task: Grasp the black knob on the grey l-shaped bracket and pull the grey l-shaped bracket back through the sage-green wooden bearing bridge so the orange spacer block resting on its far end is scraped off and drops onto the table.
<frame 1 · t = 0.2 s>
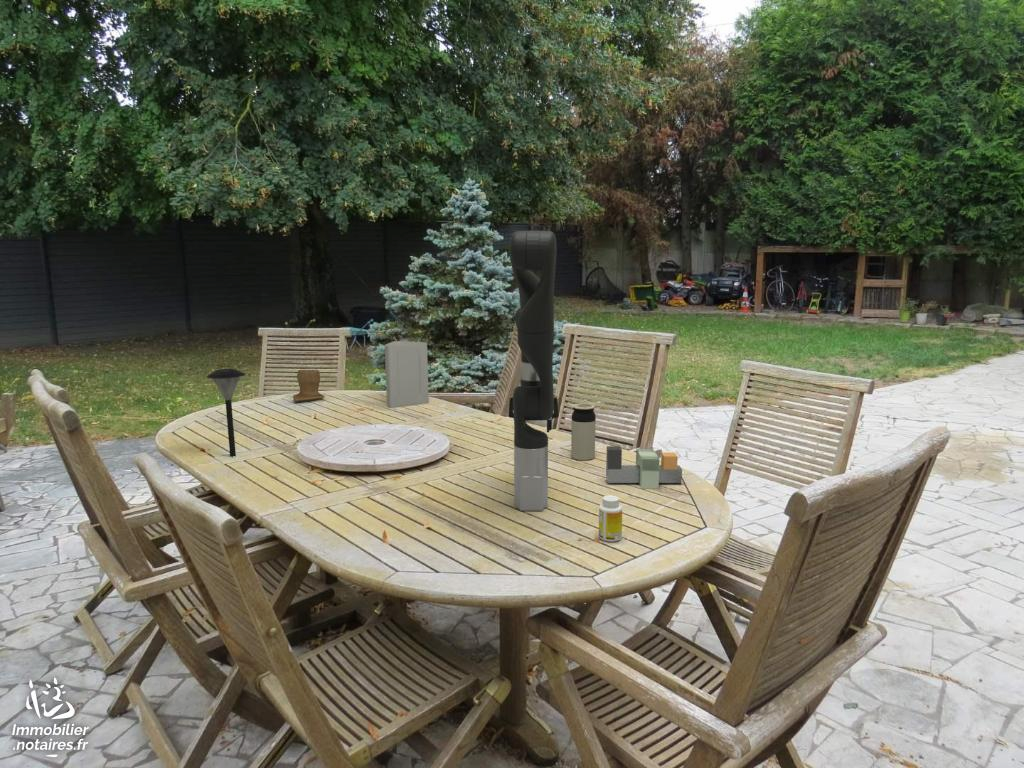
hand: (533, 431, 199), 17 cm above the table, tool pointing down, fingers open, 8 cm apart
travel mug: (582, 458, 233), on the table
grey l-shaped bracket: (643, 464, 206), point 6 cm above the table, slide at 0.0 cm, touching spacer
solar garden light: (233, 456, 236), on the table
bearing bridge: (646, 482, 207), on the table
supplement bottle: (610, 538, 167), on the table
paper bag: (403, 403, 320), on the table
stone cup: (307, 400, 326), on the table
spacer: (668, 467, 206), point 5 cm above the table, touching grey l-shaped bracket
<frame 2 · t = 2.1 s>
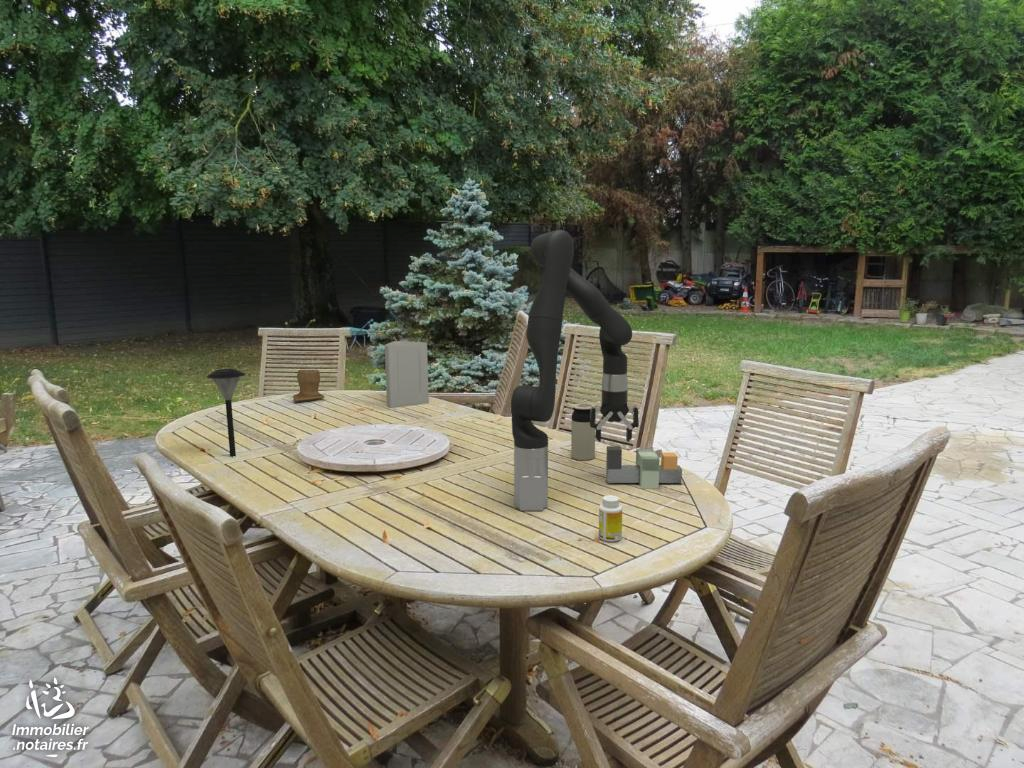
hand: (613, 441, 205), 13 cm above the table, tool pointing down, fingers open, 8 cm apart
nothing on the table moved.
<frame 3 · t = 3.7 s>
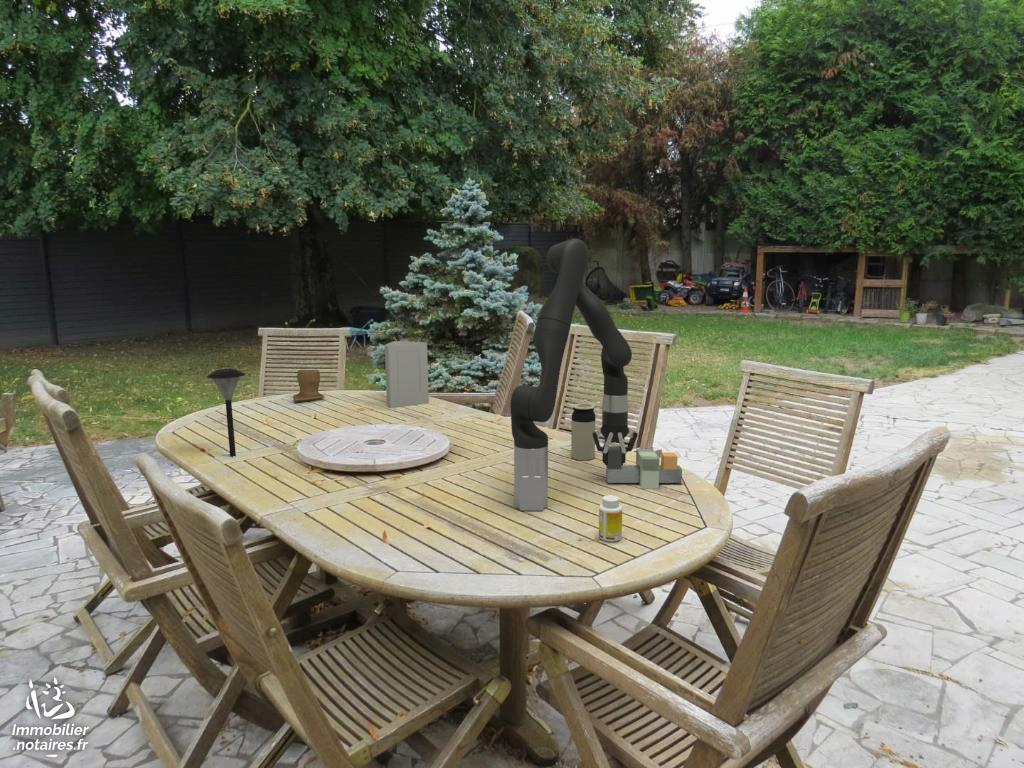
hand: (613, 464, 206), 6 cm above the table, tool pointing down, fingers closed on grey l-shaped bracket, 4 cm apart
grey l-shaped bracket: (643, 464, 206), point 6 cm above the table, slide at 0.0 cm, touching gripper, spacer
everything else where it was.
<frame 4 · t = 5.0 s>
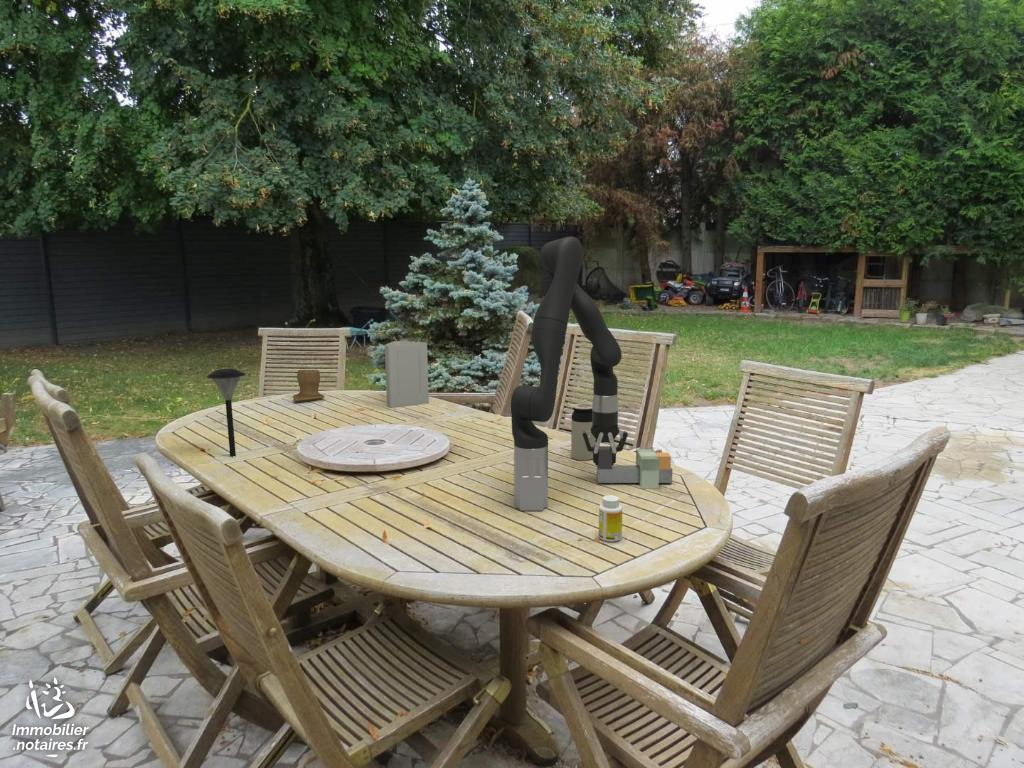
hand: (604, 464, 206), 6 cm above the table, tool pointing down, fingers closed on grey l-shaped bracket, 4 cm apart
grey l-shaped bracket: (634, 464, 206), point 6 cm above the table, slide at 2.9 cm, touching gripper, spacer
spacer: (662, 467, 206), point 5 cm above the table, touching grey l-shaped bracket
everything else where it was.
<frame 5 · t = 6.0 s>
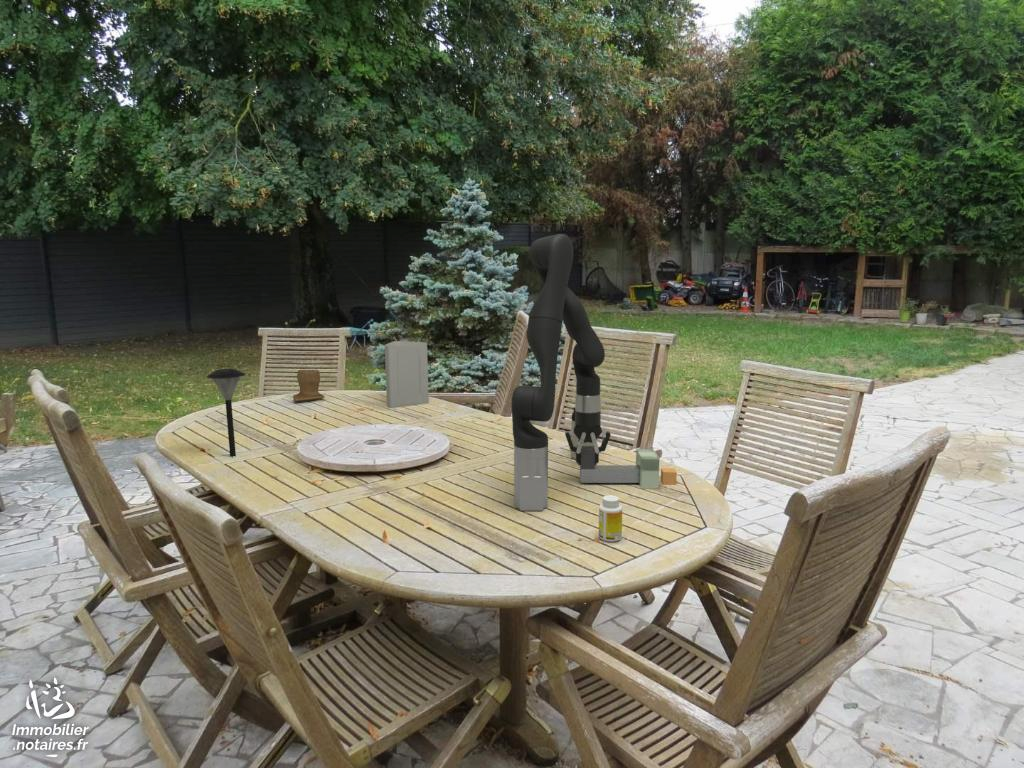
hand: (587, 464, 206), 6 cm above the table, tool pointing down, fingers closed on grey l-shaped bracket, 4 cm apart
grey l-shaped bracket: (617, 464, 206), point 6 cm above the table, slide at 8.0 cm, touching gripper
spacer: (661, 476, 207), point 2 cm above the table, tilted 90°
everything else where it was.
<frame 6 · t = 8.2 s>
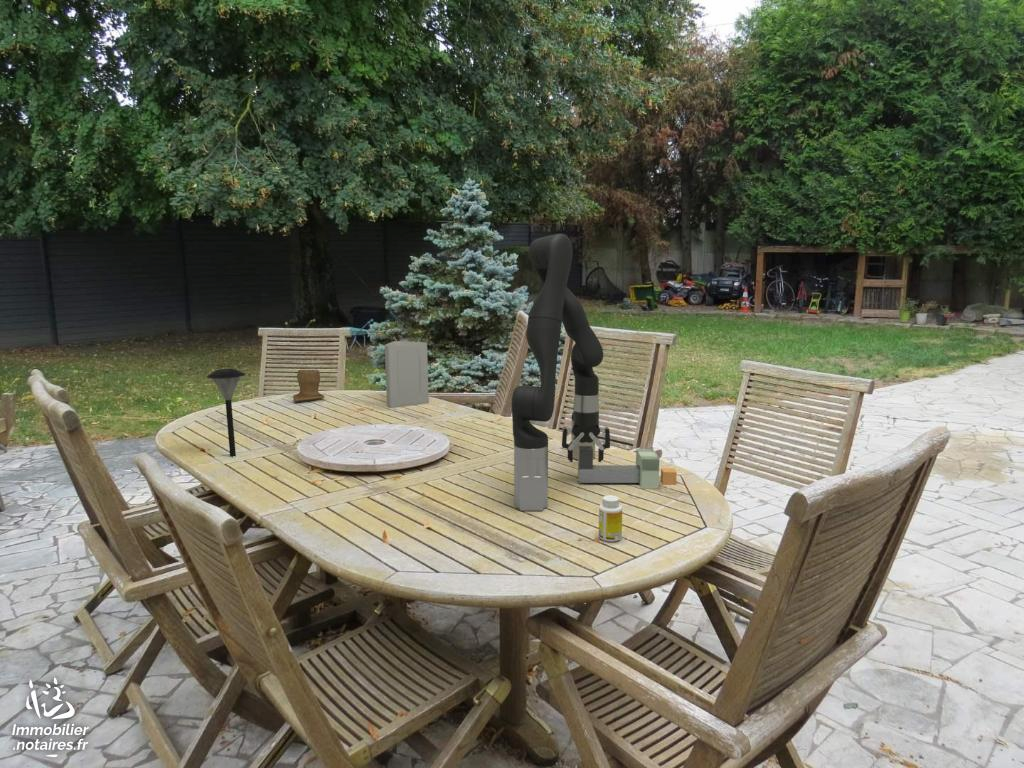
hand: (585, 461, 206), 7 cm above the table, tool pointing down, fingers open, 8 cm apart
grey l-shaped bracket: (615, 464, 206), point 6 cm above the table, slide at 8.5 cm
everything else where it was.
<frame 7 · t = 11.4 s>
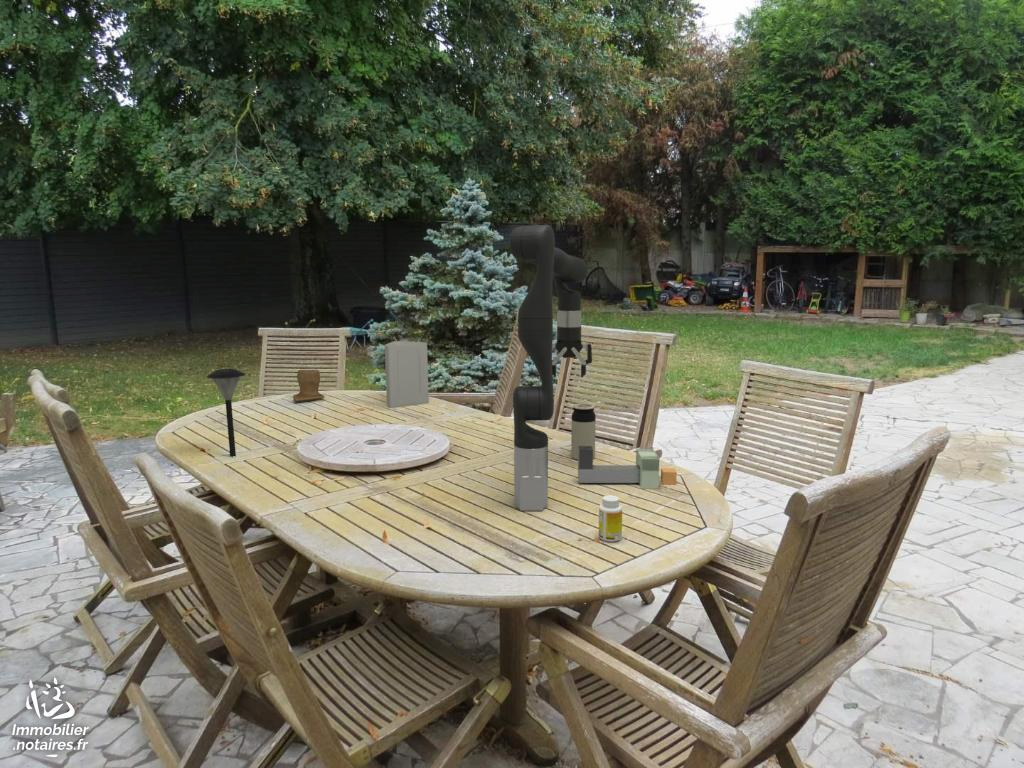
hand: (568, 376, 214), 30 cm above the table, tool pointing down, fingers open, 8 cm apart
nothing on the table moved.
at the end: grey l-shaped bracket slide at 8.5 cm; spacer point 1.9 cm above the table; the gripper is holding nothing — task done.
